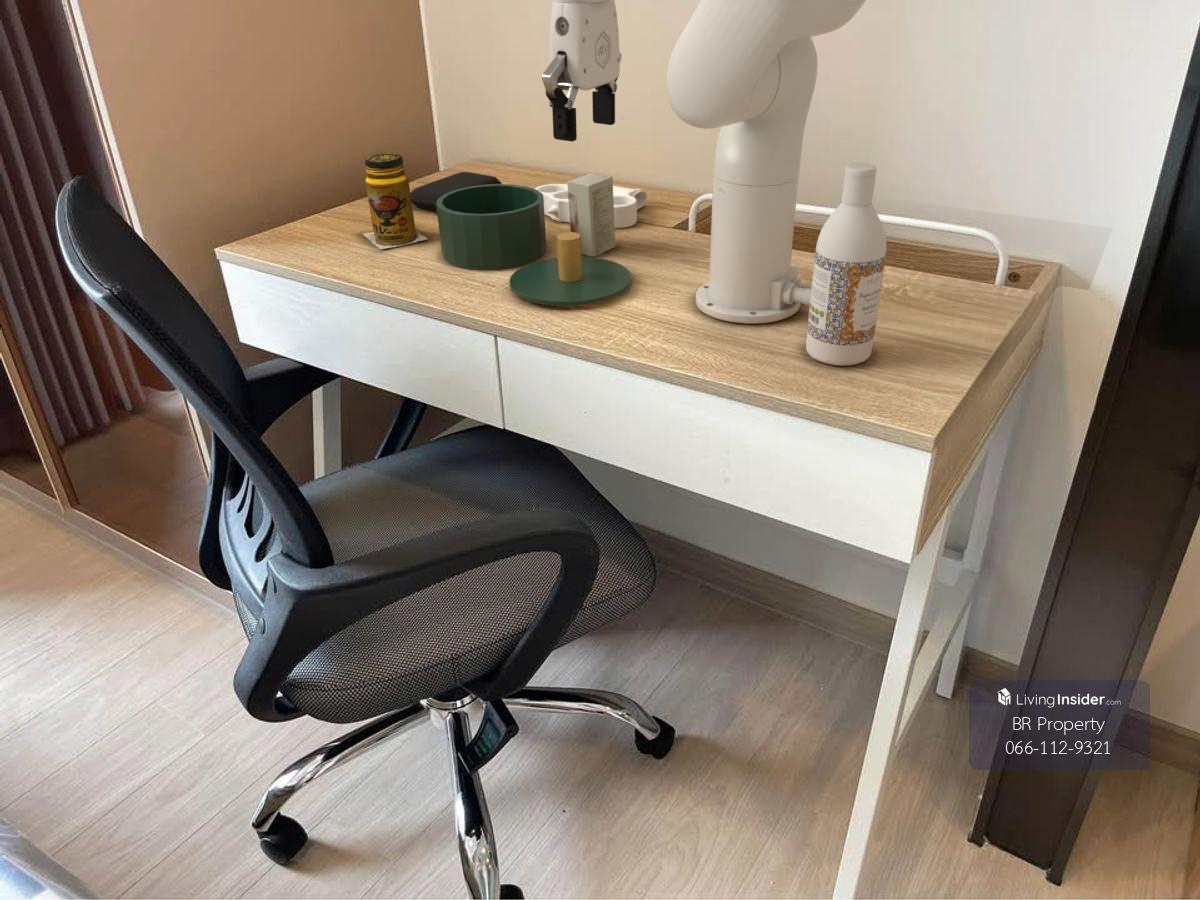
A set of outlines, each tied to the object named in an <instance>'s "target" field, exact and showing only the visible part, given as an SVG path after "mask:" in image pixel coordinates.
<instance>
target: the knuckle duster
mask: <svg viewBox="0 0 1200 900" xmlns="http://www.w3.org/2000/svg"><path fill="white" fill-rule="evenodd" d="M534 189H536V190H538V191H539V192H541V193H542V194H543V199H544V216H548V217H550V218H551V220H553V221H555V222H559V223H569V224H570V215H569V200H568V185H567V183H549V184H548V183H547V184H544V185H543V184H542V185H539V186H537V187H535V188H534ZM613 200H614V224H615V229H625V228H630V227H632V226H634V225H636V224H637V222H638V210H639V209H640V208H642V207H643V206H644V205H645V203H646V202H647V200H648V194H647V192H646V191H644V190H643V189H641V188H628V187H623V186H619V185H615V184H613Z"/></svg>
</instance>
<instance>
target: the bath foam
mask: <svg viewBox="0 0 1200 900" xmlns="http://www.w3.org/2000/svg"><path fill="white" fill-rule="evenodd" d="M843 176H844V177H843V186H842V193H841V202H840V203H839V205H838V206H837V207H836V208H835V209H834V211H833V212H832V213H831V214H830V216H829V217H828V218H827V219H826V221H825V223H824V224H823V226H822V228H821V229H820V232H819V236H818V238H817V241H816V244H815V245H816V246H815V250H814V251H815V252H814V261H813V270H812V279H811V280H812V281H811V283H812V289H811V299H810V306H809V310H808V321H807V329H806V330H807V331H806V332H807V333H806V340H805V350H806V352H807V354H808V355H809V356H810V357H811V358H812V359H813V360H816V361H817V362H820V363H823V364H826V365H831V366H842V367H845V366H854V365H858V364H861V363H863V362H865V361H867V360H868V359H869V358H870V357H871V355H872V351H873V345H874V338H875V334H876V333H875V332H876V327H877V326H876V325H877V320H878V314H879V313H878V312H879V307H880V306H879V305H880V300H881V299H880V298H881V292H882V285H883V284H882V283H883V278H884V271H885V264H886V257H887V237H886V232H885V229H884V226H883V223H882V221H881V218H880V217H879V214H878V213H877V211H876V209H875V207H874V205H873V198H874V191H875V183H876V176H877V166H876V165H874V164H871V163H866V162H852V163H848V164H846V166H845V169H844V175H843Z"/></svg>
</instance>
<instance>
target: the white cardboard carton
mask: <svg viewBox="0 0 1200 900" xmlns="http://www.w3.org/2000/svg"><path fill="white" fill-rule="evenodd" d="M566 184H567V185H568V200H569V215H570V223H569V227H570V228H569V229H570V232H575V233H579V234H580V235H581V255H584V256H586V257H593V258H595V257H597V256H598V255H601V254H604V253H606V252H607V251H609V250H611V249H613V248H615V247H616V228H615V224H614V200H613V185H614V179H613V175H606V174H602V173H596V172H586V173H583V174H581V175H579V176H576V177H573V178H571V179H569V180H566Z"/></svg>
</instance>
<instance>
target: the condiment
mask: <svg viewBox="0 0 1200 900" xmlns="http://www.w3.org/2000/svg"><path fill="white" fill-rule="evenodd" d="M364 165H365V173H366V174H367V176H366V178H365V188H366V195H367V199H368V200H367V202H368V207H369V213H370V220H371V225H372V231H371V232H364V233H361V235H363V236H364V237H365V238H366V239H367V240H369V241H370V243H371V244H373V245H374V246H375V247H376V248H378V249H379V250H384V249H391V248H396V247H402V246H406V245H410V244H411V245H412V244H415V243H418V242H423V241H426V240H428V238H427V237H426V236H424V235H423V234H422V233H420V232H419V231H418V230H417V229H416V224H415V216H414V210H413V203H412V202H411V195H410V193H411V189H410V182H409V181H410V180H409V176H408V174H407V173H406V172H405V166H404V159H403V156H402V155H401V154H399V153H393V152H389V153H388V152H384V153H376V154H372V155H370V156H367V157H366V158H365V160H364Z"/></svg>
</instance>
